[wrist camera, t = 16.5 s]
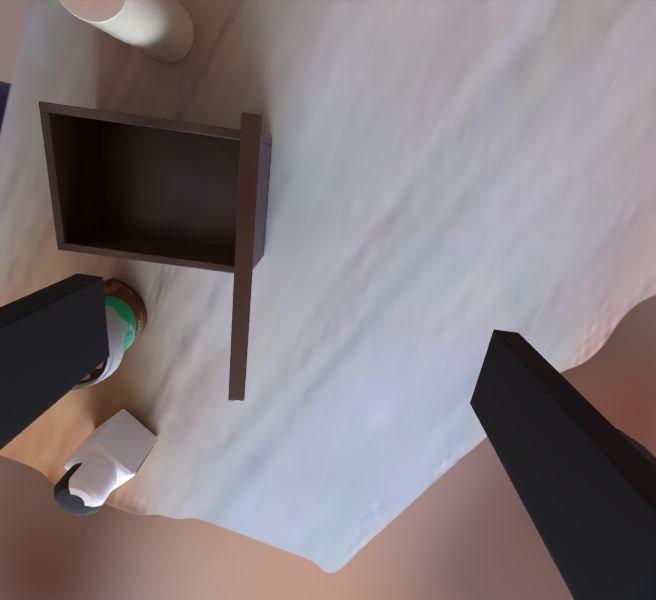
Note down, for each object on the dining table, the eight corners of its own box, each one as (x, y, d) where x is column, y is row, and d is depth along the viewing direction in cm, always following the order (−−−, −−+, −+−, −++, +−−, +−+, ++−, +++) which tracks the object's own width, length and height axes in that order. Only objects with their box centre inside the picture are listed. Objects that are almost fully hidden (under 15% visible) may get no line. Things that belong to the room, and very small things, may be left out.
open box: (105, 234, 46) (57, 249, 38) (95, 112, 41) (38, 101, 33) (263, 255, 46) (248, 275, 38) (272, 137, 41) (256, 132, 34)
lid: (228, 401, 19) (244, 401, 20) (241, 112, 15) (262, 115, 15) (243, 276, 38) (251, 277, 38) (251, 131, 33) (260, 133, 33)
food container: (150, 361, 52) (109, 405, 43) (106, 349, 52) (54, 391, 42) (161, 280, 48) (118, 310, 38) (113, 267, 47) (57, 294, 38)
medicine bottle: (129, 459, 59) (79, 531, 47) (93, 430, 57) (32, 497, 45) (159, 438, 57) (115, 506, 46) (124, 406, 55) (69, 470, 44)
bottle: (137, 58, 39) (35, 8, 26) (134, -12, 37) (21, -105, 24) (194, 67, 39) (121, 21, 26) (194, -3, 37) (115, -90, 24)
